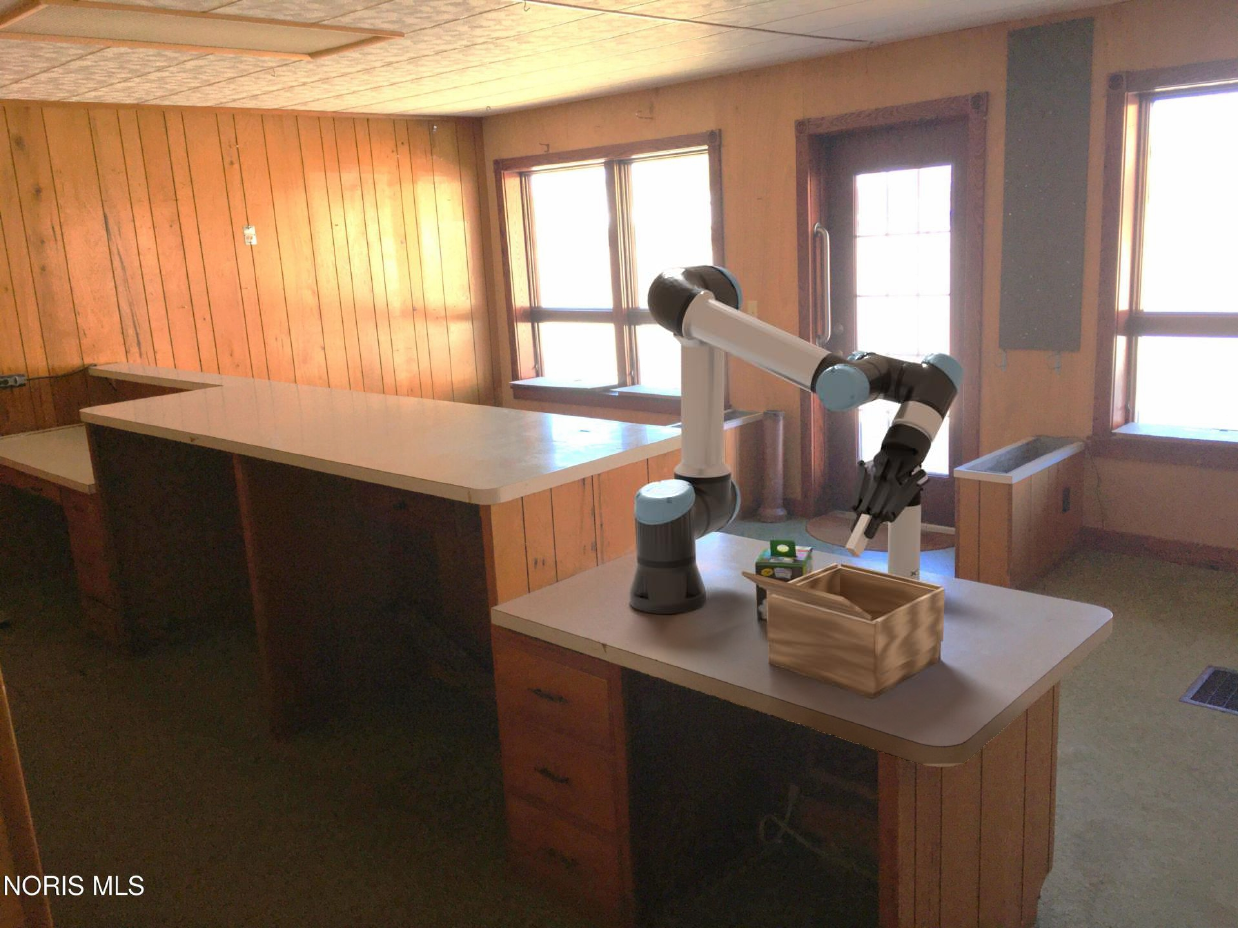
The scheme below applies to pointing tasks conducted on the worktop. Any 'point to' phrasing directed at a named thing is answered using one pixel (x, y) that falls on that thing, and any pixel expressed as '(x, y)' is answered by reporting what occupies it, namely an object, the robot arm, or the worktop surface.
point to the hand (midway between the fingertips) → (852, 552)
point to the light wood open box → (858, 629)
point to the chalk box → (780, 568)
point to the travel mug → (906, 540)
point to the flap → (807, 595)
